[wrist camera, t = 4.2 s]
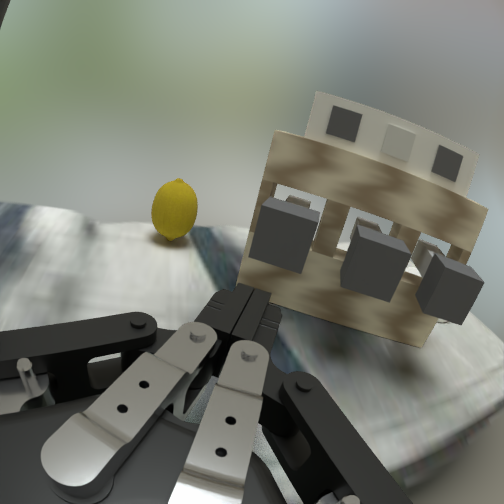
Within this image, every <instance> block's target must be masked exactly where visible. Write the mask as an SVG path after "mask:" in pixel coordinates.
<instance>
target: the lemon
mask: <svg viewBox="0 0 504 504" xmlns="http://www.w3.org/2000/svg"><path fill="white" fill-rule="evenodd" d="M151 214H152V222H153V224H154V227H155V229H156V230H157V231H158V232H159V233H160V234H161V235H163V236H165V237H166V239H167V240H168V241H173V240H174V239H175V238H179V237H182V236H184V235H185V234H187V233H188V232H189V231H190V230H191V228H192V227H193V225H194V222H195V219H196V216H197V198H196V194H195V192H194V190H193V189H192V188H191V187H190V186H189V185H188V184H186V183H185V182H184V181H183V180H182V179H180V178H177V179H176V180H175V181H171V182H168V183H166V184H164V185H163V186H162V187H161V188H160V189H159V190H158V192H157V194H156V196H155V199H154V201H153V205H152V212H151Z"/></svg>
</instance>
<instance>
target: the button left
mask: <svg viewBox="0 0 504 504" xmlns="http://www.w3.org/2000/svg"><path fill="white" fill-rule="evenodd" d="M310 203H311V201H308V200H305V199H301V198H298V197H295V196H291V195H289V196H288V198H287V199H286V201H282V200H279V199H276V198H272V197H269V198H268V199H267V200H266V201H265V202H264V203H263V204H262V205H261V209H260V213H259V217H258V220H257V224H256V228H255V232H254V236H253V240H252V244H251V248H250V252H249V256H248V257H249V258H252V259H255V260H259V261H262V262H265V263H268V264H271V265H274V266H277V267H280V268H283V269H286V270H289V271H292V272H296V273H299V274H301V273H302V270H303V268H304V265H305V262H306V259H307V256H308V253H309V250H310V247H311V244H312V241H313V237H314V234H315V231H316V228H317V225H318V222H319V214H320V212H318V211H314V210H312V209H309V207H310Z"/></svg>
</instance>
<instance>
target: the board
mask: <svg viewBox="0 0 504 504" xmlns="http://www.w3.org/2000/svg"><path fill="white" fill-rule="evenodd" d="M277 184H281V185H284V186H287V187H291V188H294V189H297V190H301V191H304V192H307V193H310V194H314V195H317V196H320V197H323V198H326V199H327V201H326V204H325V208H324V211H323V214H322V217H321V220H320V223H319V226H318V229H317V232H316V235H315V239H314V241H312V244H311V247H310V250H309V253H308V256H307V259H306V262H305V265H304V268H303V270H302V273H301V274H299V273H296V272H292V271H289V270H286V269H283V268H280V267H277V266H274V265H271V264H268V263H265V262H262V261H259V260H255V259H252V258H249V257H248V256H249V252H250V248H251V244H252V240H253V236H254V232H255V228H256V224H257V220H258V217H259V213H260V209H261V205H262V204H263V203H264V202H265V201H266V200H267V199H268V198H269V197H272V198H274V194H275V190H276V186H277ZM350 207H353V208H356V209H360V210H362V211H365V212H368V213H371V214H374V215H376V216H379V217H382V218H385V219H388V220H391V221H393V222H394V223H393V225H392V228H391V231H390V234H389V236H391V237H394V238H397V239H400V240H403V241H404V243H405V244H406V246H407V248H408V249H409V251H410V253H411V254H412V253H413V251H414V248H415V246H416V243H417V241H418V239H419V236H420V234H421V232H422V233H425V234H427V235H430V236H432V237H435V238H437V239H440V240H442V241H445V242H447V243H450V244H451V247H450V249H449V251H448V253H447V256H446V257H447V258H450V259H452V260H455V261H457V262H460V263H462V264H465V265H466V263H467V261H468V259H469V257H470V255H471V252H472V250H473V248H474V245H475V243H476V240H477V238H478V236H479V233H480V231H481V228H482V225H483V223H484V220H485V217H486V215H487V211H488V209H487V208H485V207H484V206H482V205H480V204H478V203H476V202H474V201H472V200H470V199H468V198H465V197H463V196H461V195H459V194H457V193H454V192H452V191H450V190H448V189H445V188H443V187H441V186H439V185H436V184H434V183H432V182H429V181H427V180H425V179H422V178H420V177H417V176H415V175H412V174H410V173H407V172H405V171H402V170H400V169H397V168H395V167H392V166H389V165H387V164H384V163H381V162H378V161H376V160H373V159H370V158H367V157H364V156H361V155H358V154H356V153H353V152H350V151H346V150H343V149H340V148H337V147H334V146H331V145H328V144H324V143H321V142H318V141H314V140H311V139H307V138H304V137H302V136H299V135H295V134H291V133H288V132H284V131H280V130H275V131H274V135H273V139H272V143H271V147H270V151H269V155H268V159H267V163H266V167H265V171H264V175H263V179H262V182H261V186H260V190H259V194H258V198H257V203H256V206H255V210H254V215H253V219H252V222H251V226H250V230H249V234H248V238H247V242H246V246H245V250H244V254H243V258H242V262H241V267H240V271H239V275H238V279H237V283H236V286H237V284H238V283H242V284H245V285H248V286H251V287H254V288H257V289H260V290H263V291H266V292H269V293H272V294H271V297H270V301H269V302H271V303H274V304H277V305H280V306H283V307H286V308H289V309H292V310H295V311H299V312H302V313H305V314H308V315H311V316H314V317H317V318H321V319H324V320H327V321H330V322H334V323H337V324H340V325H343V326H347V327H350V328H353V329H357V330H360V331H363V332H367V333H370V334H374V335H377V336H380V337H384V338H387V339H391V340H394V341H398V342H401V343H405V344H409V345H412V346H416V347H419V348H421V347H422V346H423V344H424V343H425V341H426V339H427V338H428V336H429V334H430V333H431V331H432V329H433V328H434V326H435V324H436V322H437V321H438V319H439V318H436V317H433V316H430V315H427V314H424V313H423V312H422V310H421V308H420V305H419V303H418V301H417V298H416V296H415V294H416V292H417V290H418V288H419V286H420V283H421V281H422V279H423V278H422V277H420V276H417V275H415V274H412V273H409V272H406V271H404V273H403V275H402V278H401V280H400V282H399V284H398V286H397V288H396V291H395V293H394V295H393V297H392V299H391V301H390V303H389V302H386V301H383V300H380V299H377V298H373V297H370V296H367V295H364V294H361V293H358V292H355V291H351V290H348V289H345V288H342V287H341V286H340V269H341V266H342V264H343V261H344V259H345V256H346V253H347V251H344V250H341V249H338V248H336V247H337V244H338V241H339V238H340V235H341V233H342V230H343V227H344V224H345V221H346V218H347V215H348V212H349V209H350ZM410 258H411V257H410ZM408 263H409V262H408ZM407 265H408V264H407ZM406 267H407V266H406ZM254 290H255V289H254Z"/></svg>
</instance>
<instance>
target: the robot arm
mask: <svg viewBox="0 0 504 504" xmlns="http://www.w3.org/2000/svg"><path fill="white" fill-rule="evenodd" d="M9 3H10V0H0V27H1V25H2V21H3V19H4V16H5V13H6V11H7V8H8V5H9ZM254 289H255V290H254ZM271 294H272V293H269V292H266V291H263V290H260V289H257V288H254V287H251V286H248V285H245V284H242V283H238V284H237V286H236V287H235V289H234V290H233V292H231V291H228V290H225V289H223V290H220V291H218V292H216V293H215V294H214V295H213V296H212V298H211V299H210V300H209V302H208V303H207V305H206V306H205V307H204V309H203V310H202V311H201V313H200V314H199V315H198V317H197V318H196V319H195V321H194V322H189V323H186V324H184V325H182V326H181V327H180V328H179V329H178V330H167V329H161V328H157V322H156V320H155V319H154V318H153V317H152V316H150V315H148V314H146V313H142V312H130V313H124V314H118V315H112V316H106V317H100V318H93V319H87V320H81V321H74V322H67V323H61V324H54V325H47V326H40V327H32V328H25V329H17V330H10V331H2V332H0V504H287V503H286V501H285V499H284V497H283V495H282V493H281V491H280V489H279V487H278V486H277V484H276V482H275V480H274V478H273V476H272V474H271V472H270V470H269V469H268V467H267V466H266V464H265V463H264V462H263V461H262V460H261V458H259V457H258V456H257V455H256V454H255V453H254V452H252V448H253V444H254V439H255V435H256V430H257V425H258V423H259V424H261V425H262V432H263V434H264V436H265V438H266V440H267V441H268V443H269V445H270V447H271V449H272V450H273V452H274V454H275V456H276V457H277V459H278V461H279V463H280V464H281V466H282V468H283V470H284V471H285V473H286V475H287V477H288V478H289V480H290V482H291V483H292V485H293V487H294V488H295V490H296V492H297V493H298V495H299V497H300V498H301V500H302V502H303V503H304V504H413V503H412V502H411V500H410V499H409V498H408V497H407V495H406V494H405V493H404V492H403V490H402V489H401V488H400V486H399V485H398V484H397V483H396V481H395V480H394V479H393V478H392V476H391V475H390V474H389V472H388V471H387V470H386V469H385V467H384V466H383V465H382V463H381V462H380V461H379V459H378V458H377V457H376V456H375V454H374V453H373V452H372V450H371V449H370V448H369V446H368V445H367V444H366V443H365V441H364V440H363V439H362V437H361V436H360V435H359V433H358V432H357V431H356V429H355V428H354V427H353V425H352V424H351V423H350V421H349V420H348V419H347V417H346V416H345V415H344V413H343V412H342V411H341V409H340V408H339V407H338V405H337V404H336V403H335V401H334V400H333V399H332V397H331V396H330V395H329V393H328V392H327V391H326V389H325V388H324V387H323V385H322V384H321V383H320V381H319V380H318V379H317V378H316V377H314V376H313V375H311V374H309V373H306V372H300V371H296V372H291V373H289V374H288V375H287V374H286V373H284V372H282V371H281V370H279V369H278V368H277V367H276V366H275V365H274V364H273V362H272V360H271V357H270V353H271V349H272V346H273V343H274V340H275V337H276V334H277V330H278V327H279V324H280V321H281V318H282V314H281V311H280V308H278V307H275V306H272V305H269V301H270V297H271ZM120 352H121V357H118V358H113V359H108V360H103V361H98V362H93V363H88V362H89V361H90V360H91V359H92V358H95V357H100V356H105V355H110V354H115V353H120ZM221 371H222V372H221ZM220 373H221V375H220ZM219 375H220V377H219ZM211 376H215V377H219V380H218V383H216V384H215V387H214V389H213V392H212V395H211V397H210V400H209V402H208V405H207V408H206V410H205V413H204V416H203V418H202V421H201V423H200V424H195V423H189V422H185V419H186V418H187V416H188V415H189V413H190V412H191V410H192V409H193V407H194V406H195V404H196V403H197V401H198V400H199V398H200V397H201V395H202V394H203V392H204V391H205V389H206V385H207V383H208V382H209V380H210V378H211Z"/></svg>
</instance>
